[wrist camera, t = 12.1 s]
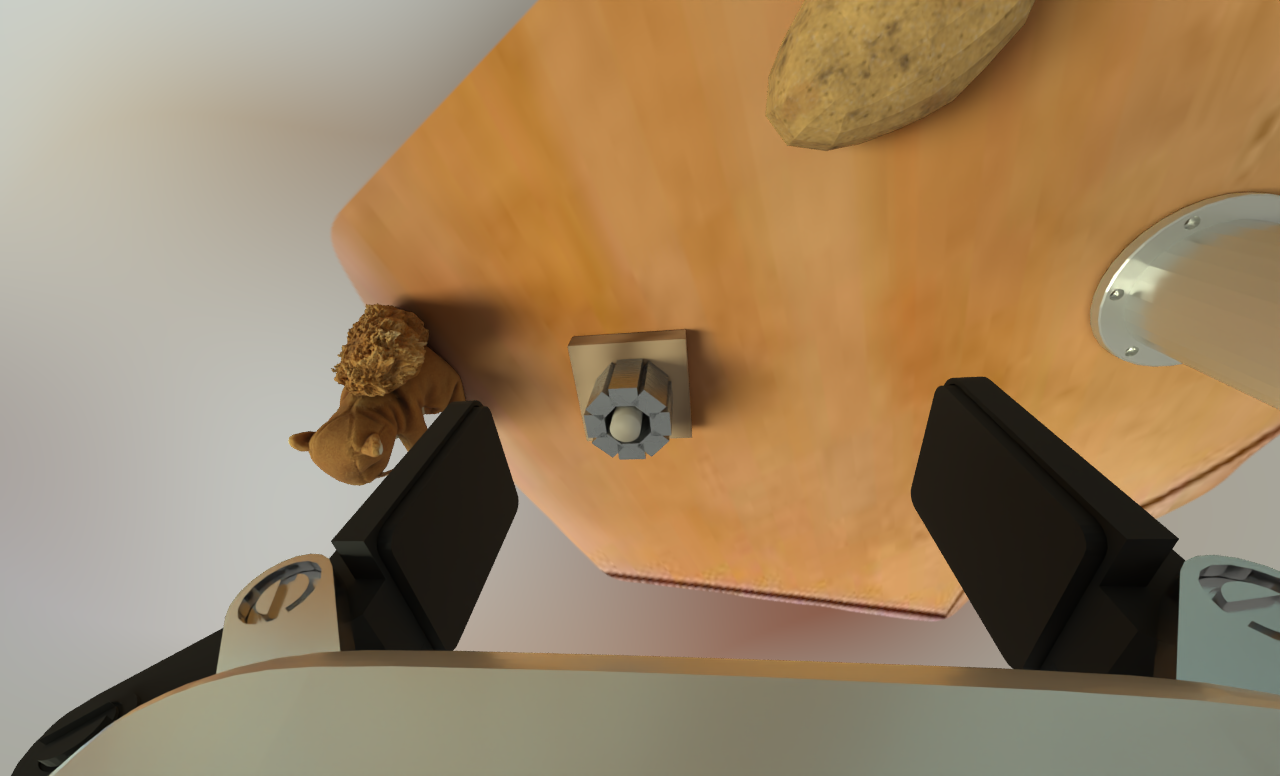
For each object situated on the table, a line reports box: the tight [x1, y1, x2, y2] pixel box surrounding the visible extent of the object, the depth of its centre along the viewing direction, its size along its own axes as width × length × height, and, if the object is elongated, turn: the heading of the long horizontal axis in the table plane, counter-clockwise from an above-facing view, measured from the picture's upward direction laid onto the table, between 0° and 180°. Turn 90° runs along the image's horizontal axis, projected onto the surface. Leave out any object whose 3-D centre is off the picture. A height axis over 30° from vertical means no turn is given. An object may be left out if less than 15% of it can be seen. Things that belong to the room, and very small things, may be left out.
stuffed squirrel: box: [288, 303, 466, 486], centre depth 37 cm, size 10×14×13 cm
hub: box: [584, 358, 673, 459], centre depth 38 cm, size 7×7×5 cm
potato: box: [765, 0, 1035, 151], centre depth 25 cm, size 10×14×8 cm
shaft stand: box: [568, 329, 692, 442], centre depth 39 cm, size 10×10×8 cm
